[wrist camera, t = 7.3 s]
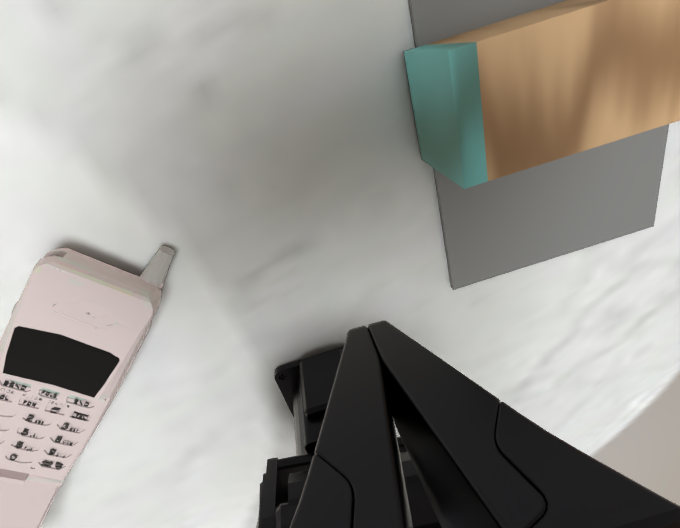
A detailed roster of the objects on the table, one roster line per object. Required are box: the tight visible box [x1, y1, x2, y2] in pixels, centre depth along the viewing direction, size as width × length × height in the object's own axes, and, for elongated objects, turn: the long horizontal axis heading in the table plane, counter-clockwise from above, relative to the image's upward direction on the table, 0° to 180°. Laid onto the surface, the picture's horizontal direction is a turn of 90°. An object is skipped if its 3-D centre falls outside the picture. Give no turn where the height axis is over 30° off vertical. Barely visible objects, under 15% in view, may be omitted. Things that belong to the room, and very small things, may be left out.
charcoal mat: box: [409, 0, 669, 290], centre depth 19 cm, size 20×13×1 cm, turn 15°
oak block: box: [404, 0, 680, 189], centre depth 17 cm, size 5×5×10 cm
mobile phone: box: [0, 246, 175, 528], centre depth 21 cm, size 6×6×25 cm
